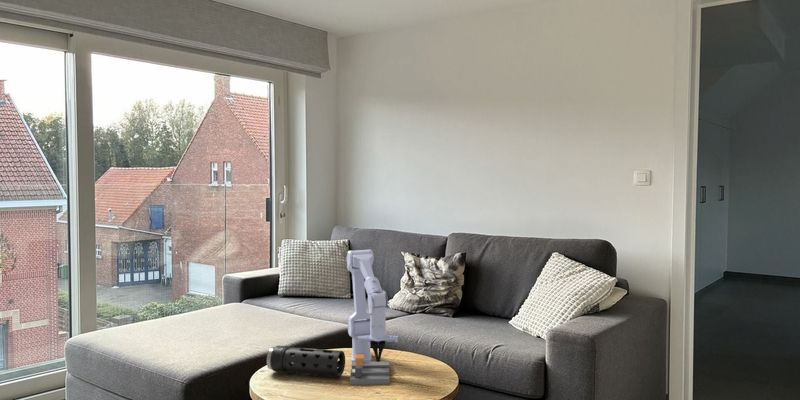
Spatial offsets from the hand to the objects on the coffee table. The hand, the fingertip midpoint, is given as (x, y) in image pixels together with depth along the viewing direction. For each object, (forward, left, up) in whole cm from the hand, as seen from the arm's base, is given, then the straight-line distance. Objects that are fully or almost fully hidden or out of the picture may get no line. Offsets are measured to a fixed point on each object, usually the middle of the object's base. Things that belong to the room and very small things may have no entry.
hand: (378, 361), depth 225 cm
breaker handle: (0, -7, -3) cm, 8 cm away
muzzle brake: (-1, -27, -6) cm, 28 cm away
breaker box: (0, -3, -5) cm, 6 cm away
